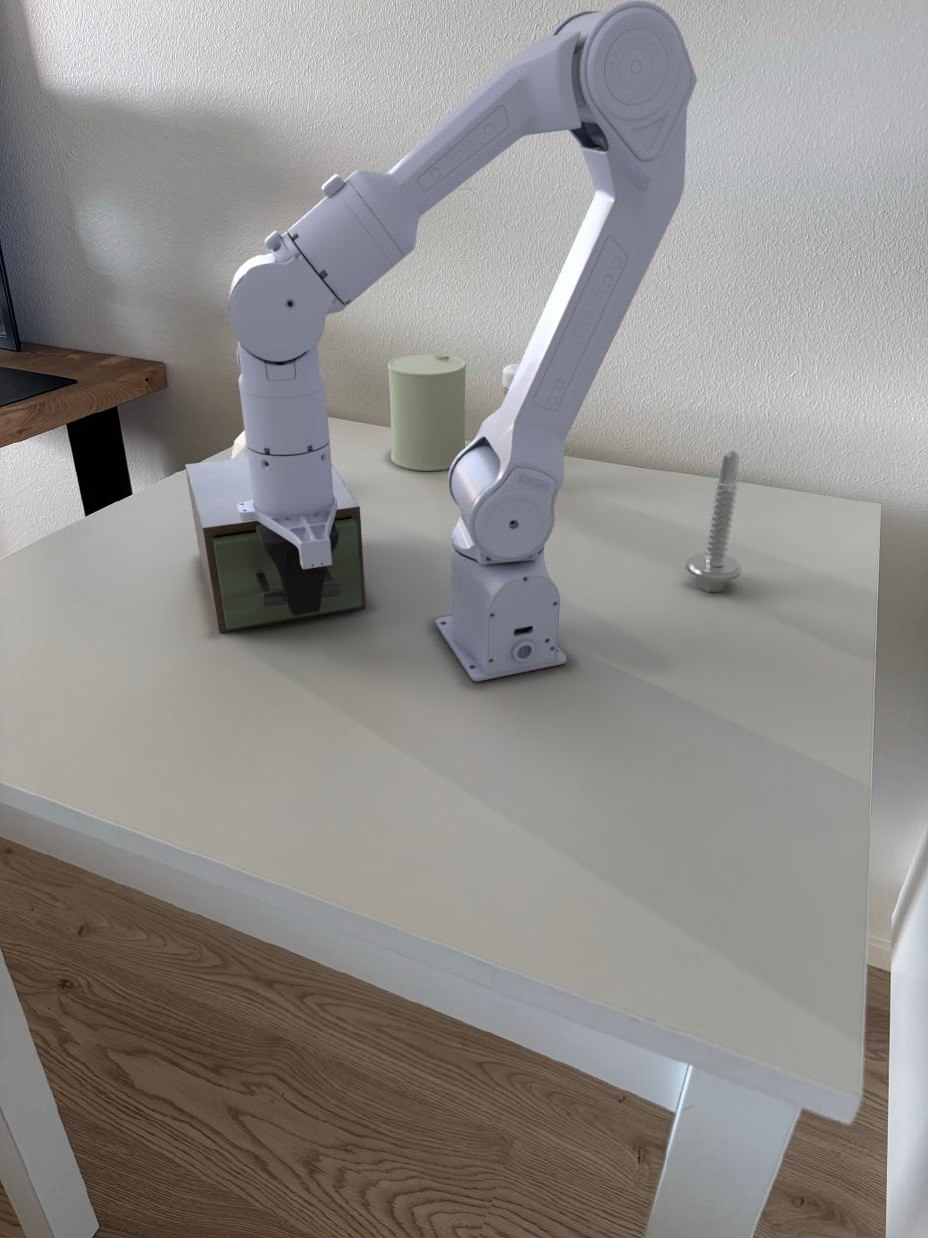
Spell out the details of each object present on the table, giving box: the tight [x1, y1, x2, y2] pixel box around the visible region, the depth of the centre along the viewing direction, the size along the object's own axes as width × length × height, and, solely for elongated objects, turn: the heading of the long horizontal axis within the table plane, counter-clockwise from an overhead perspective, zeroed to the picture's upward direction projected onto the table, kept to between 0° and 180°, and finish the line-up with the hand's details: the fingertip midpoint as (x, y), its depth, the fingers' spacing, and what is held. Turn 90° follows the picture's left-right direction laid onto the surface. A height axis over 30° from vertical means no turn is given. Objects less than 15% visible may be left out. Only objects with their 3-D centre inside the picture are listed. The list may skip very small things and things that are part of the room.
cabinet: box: [184, 457, 367, 634], centre depth 81 cm, size 15×13×10 cm
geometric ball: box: [230, 430, 248, 459], centre depth 100 cm, size 8×8×8 cm
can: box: [387, 353, 467, 472], centre depth 108 cm, size 9×9×12 cm
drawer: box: [213, 518, 362, 629], centre depth 77 cm, size 18×11×8 cm, turn 20°
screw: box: [685, 450, 742, 593], centre depth 79 cm, size 13×5×5 cm
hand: (305, 611), depth 70 cm, fingers closed
